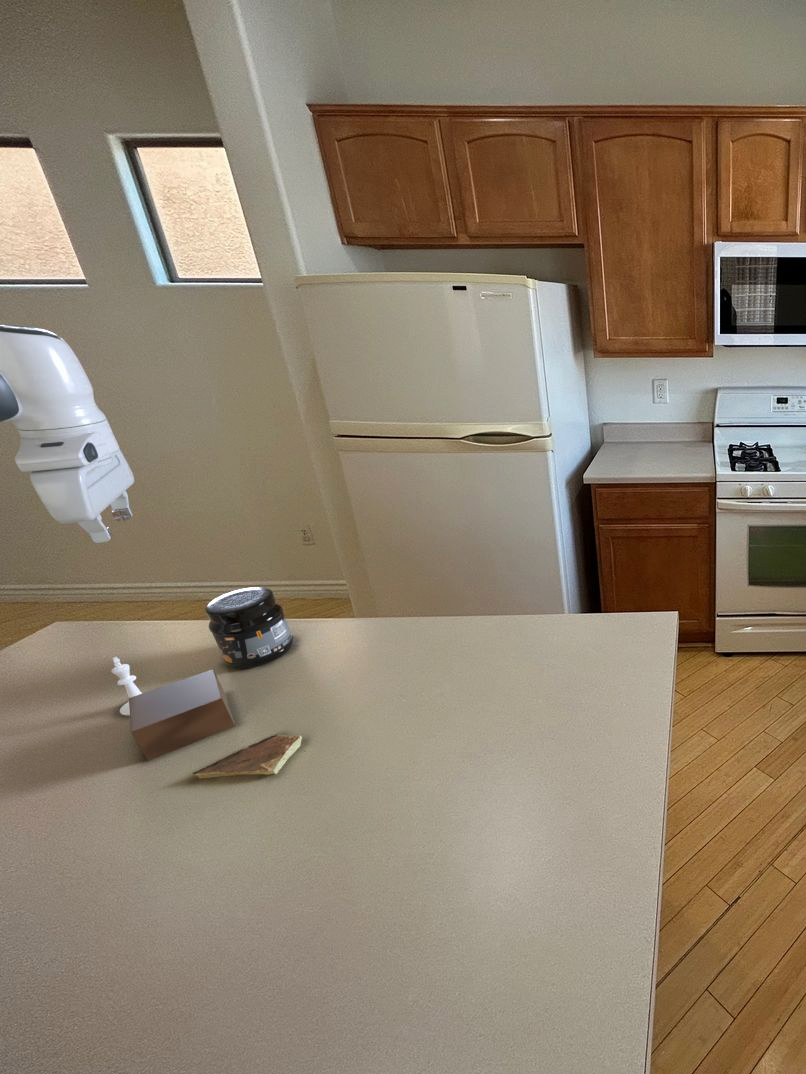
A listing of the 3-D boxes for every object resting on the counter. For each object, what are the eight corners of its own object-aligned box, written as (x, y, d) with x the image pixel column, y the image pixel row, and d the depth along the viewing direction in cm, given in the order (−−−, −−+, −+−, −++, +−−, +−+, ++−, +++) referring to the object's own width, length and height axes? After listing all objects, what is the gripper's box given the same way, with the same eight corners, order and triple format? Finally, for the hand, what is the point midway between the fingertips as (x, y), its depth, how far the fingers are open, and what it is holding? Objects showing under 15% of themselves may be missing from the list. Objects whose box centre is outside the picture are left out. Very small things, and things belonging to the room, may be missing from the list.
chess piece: (119, 722, 88) (90, 671, 83) (122, 706, 91) (93, 656, 87) (161, 708, 91) (135, 658, 86) (162, 693, 94) (137, 644, 90)
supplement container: (227, 650, 105) (203, 596, 100) (295, 632, 111) (275, 579, 106) (224, 679, 97) (198, 622, 92) (297, 658, 103) (276, 603, 98)
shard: (195, 781, 78) (190, 772, 77) (236, 740, 85) (232, 731, 84) (275, 779, 78) (271, 769, 77) (309, 738, 85) (305, 729, 84)
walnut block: (148, 763, 80) (130, 732, 78) (145, 727, 87) (128, 698, 84) (236, 727, 87) (221, 698, 84) (226, 697, 93) (213, 668, 91)
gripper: (70, 430, 87) (110, 511, 93) (7, 463, 71) (59, 559, 77) (125, 426, 90) (160, 505, 96) (75, 457, 74) (121, 549, 80)
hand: (115, 529), depth 86 cm, fingers open, 8 cm apart
